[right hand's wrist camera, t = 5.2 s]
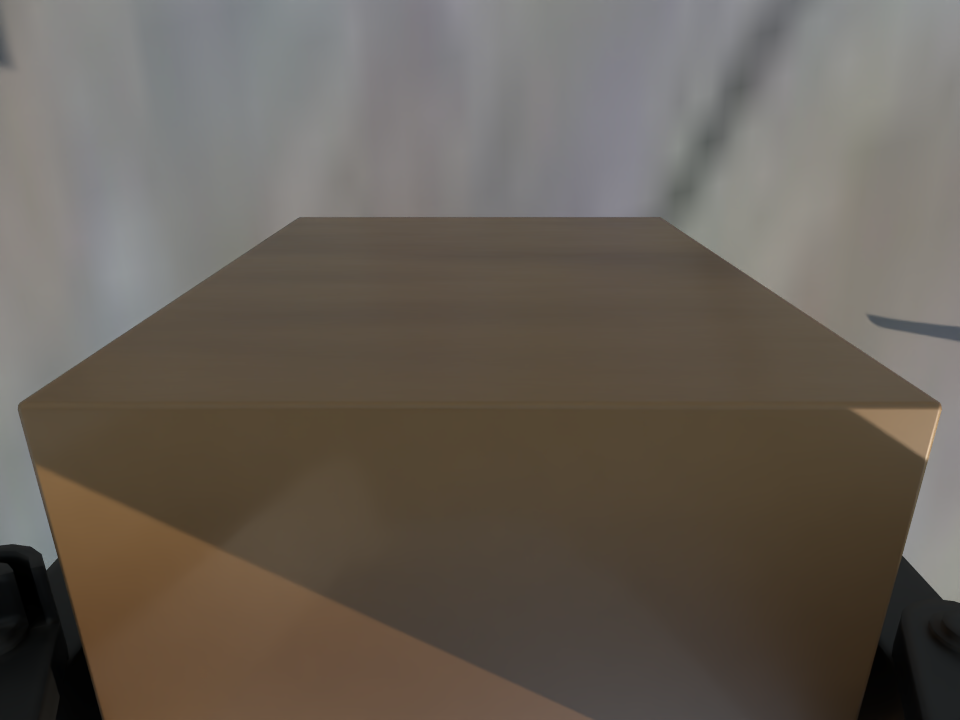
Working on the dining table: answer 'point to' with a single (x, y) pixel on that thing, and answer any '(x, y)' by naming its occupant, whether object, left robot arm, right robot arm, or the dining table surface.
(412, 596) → the brown block
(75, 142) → the dining table surface
